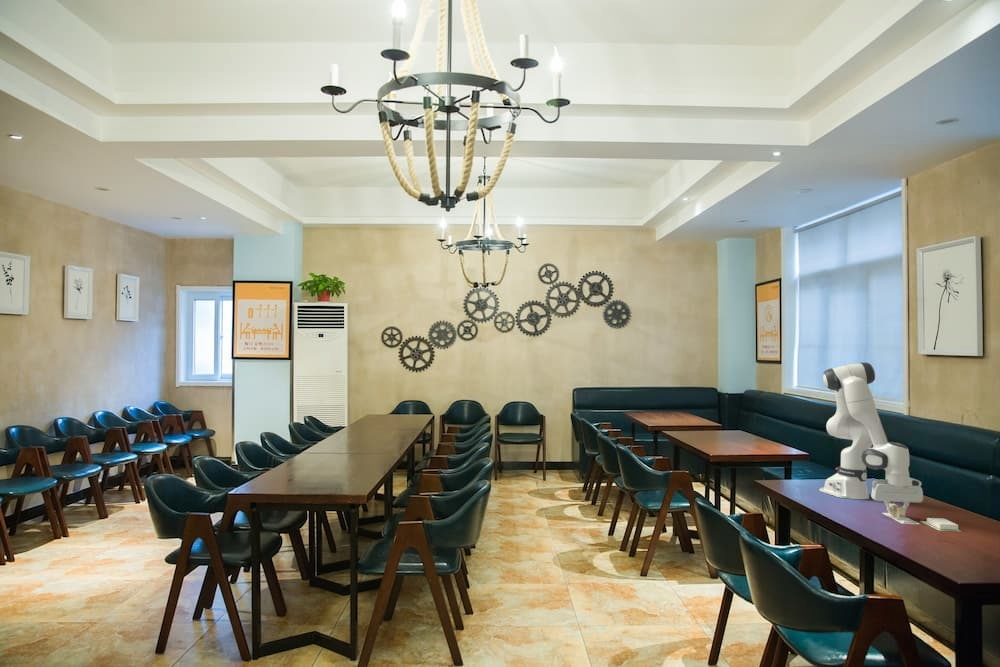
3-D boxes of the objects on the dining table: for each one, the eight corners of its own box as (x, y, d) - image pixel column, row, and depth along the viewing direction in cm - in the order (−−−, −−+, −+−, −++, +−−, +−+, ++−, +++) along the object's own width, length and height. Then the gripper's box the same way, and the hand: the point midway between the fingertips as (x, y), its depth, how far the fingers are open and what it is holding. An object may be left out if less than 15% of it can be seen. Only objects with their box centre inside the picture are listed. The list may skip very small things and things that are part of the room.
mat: (919, 521, 267) (919, 520, 267) (941, 522, 266) (941, 521, 266) (938, 531, 254) (938, 530, 254) (961, 532, 254) (961, 531, 254)
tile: (926, 517, 264) (940, 524, 255) (944, 518, 263) (958, 524, 255) (926, 523, 264) (940, 529, 255) (944, 523, 263) (957, 530, 254)
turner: (885, 513, 278) (885, 503, 278) (896, 513, 277) (896, 503, 277) (903, 522, 263) (904, 512, 263) (916, 523, 263) (916, 513, 263)
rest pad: (882, 514, 278) (882, 512, 278) (898, 514, 278) (898, 513, 278) (902, 524, 262) (902, 523, 262) (919, 525, 262) (919, 524, 262)
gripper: (876, 480, 271) (875, 512, 271) (925, 482, 269) (924, 514, 269) (868, 477, 277) (868, 508, 277) (916, 479, 276) (916, 510, 275)
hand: (896, 511), depth 273 cm, fingers open, 4 cm apart
